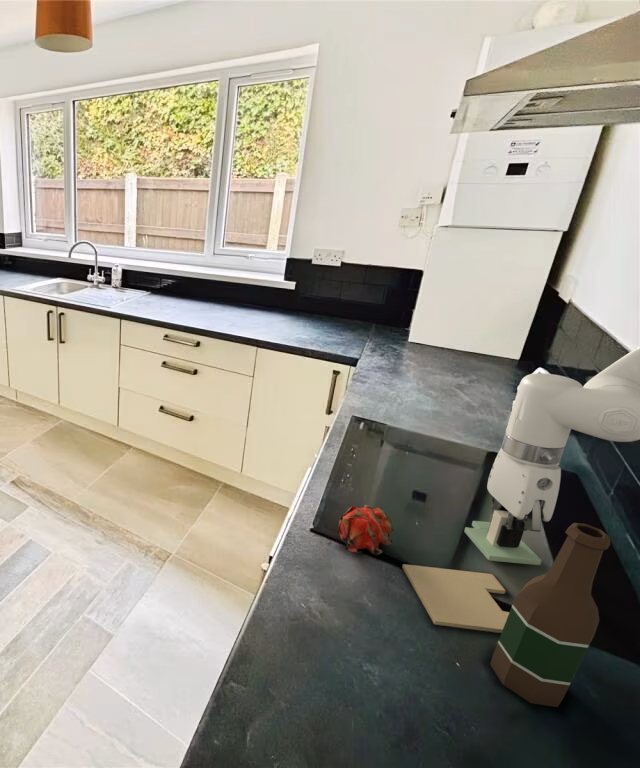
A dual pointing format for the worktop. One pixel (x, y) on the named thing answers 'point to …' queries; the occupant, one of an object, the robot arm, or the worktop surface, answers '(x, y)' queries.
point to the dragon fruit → (365, 529)
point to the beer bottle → (552, 622)
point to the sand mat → (458, 597)
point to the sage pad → (500, 551)
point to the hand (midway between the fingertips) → (502, 540)
